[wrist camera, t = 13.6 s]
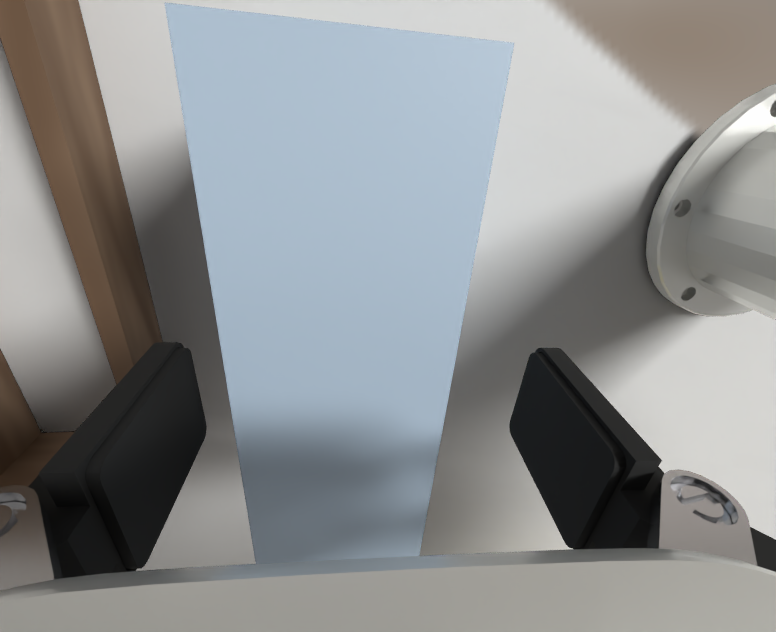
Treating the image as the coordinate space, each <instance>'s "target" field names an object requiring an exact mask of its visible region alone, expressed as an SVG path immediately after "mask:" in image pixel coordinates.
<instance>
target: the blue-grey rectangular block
mask: <svg viewBox="0 0 776 632" xmlns="http://www.w3.org/2000/svg"><path fill="white" fill-rule="evenodd" d="M165 8H166V14H167V20H168V27H169V33H170V39H171V45H172V51H173V57H174V63H175V70H176V76H177V82H178V88H179V94H180V100H181V106H182V113H183V119H184V125H185V131H186V137H187V143H188V149H189V155H190V162H191V168H192V174H193V180H194V186H195V192H196V198H197V205H198V211H199V217H200V223H201V229H202V235H203V241H204V248H205V254H206V260H207V266H208V272H209V278H210V284H211V291H212V297H213V303H214V309H215V315H216V321H217V327H218V334H219V340H220V346H221V352H222V358H223V364H224V370H225V376H226V383H227V389H228V395H229V401H230V407H231V413H232V419H233V426H234V432H235V438H236V444H237V450H238V456H239V462H240V469H241V475H242V481H243V487H244V493H245V499H246V505H247V512H248V518H249V524H250V530H251V536H252V542H253V548H254V554H255V561H256V564H266V563H285V562H304V561H324V560H345V559H366V558H387V557H408V556H419V554H420V549H421V544H422V538H423V533H424V527H425V522H426V517H427V511H428V506H429V500H430V495H431V490H432V484H433V479H434V474H435V468H436V463H437V457H438V452H439V447H440V441H441V436H442V430H443V425H444V420H445V414H446V409H447V403H448V398H449V393H450V387H451V382H452V376H453V371H454V366H455V360H456V355H457V349H458V344H459V339H460V333H461V328H462V323H463V317H464V312H465V306H466V301H467V296H468V290H469V285H470V279H471V274H472V269H473V263H474V258H475V252H476V247H477V242H478V236H479V231H480V225H481V220H482V215H483V209H484V204H485V198H486V193H487V188H488V182H489V177H490V172H491V166H492V161H493V155H494V150H495V145H496V139H497V134H498V128H499V123H500V118H501V112H502V107H503V101H504V96H505V91H506V85H507V80H508V74H509V69H510V64H511V58H512V53H513V48H514V43H511V42H502V41H494V40H485V39H476V38H468V37H459V36H450V35H442V34H433V33H424V32H416V31H407V30H398V29H390V28H381V27H372V26H364V25H355V24H346V23H338V22H329V21H320V20H312V19H303V18H294V17H286V16H277V15H268V14H260V13H251V12H242V11H234V10H225V9H216V8H208V7H199V6H190V5H182V4H173V3H165Z"/></svg>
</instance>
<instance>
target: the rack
mask: <svg viewBox="0 0 776 632" xmlns="http://www.w3.org/2000/svg"><path fill="white" fill-rule="evenodd" d="M0 38H1V41H2V44H3V47H4V50H5V53H6V56H7V59H8V62H9V65H10V68H11V71H12V74H13V77H14V80H15V83H16V86H17V89H18V92H19V95H20V98H21V101H22V104H23V107H24V110H25V113H26V116H27V119H28V122H29V125H30V128H31V131H32V134H33V137H34V140H35V143H36V146H37V149H38V152H39V155H40V158H41V161H42V164H43V167H44V170H45V173H46V176H47V179H48V182H49V185H50V188H51V191H52V194H53V196H54V199H55V202H56V205H57V208H58V211H59V214H60V217H61V220H62V223H63V226H64V229H65V232H66V235H67V238H68V241H69V244H70V247H71V250H72V253H73V256H74V259H75V262H76V265H77V268H78V271H79V274H80V277H81V280H82V283H83V286H84V289H85V292H86V295H87V298H88V301H89V304H90V307H91V310H92V313H93V316H94V319H95V322H96V325H97V328H98V331H99V334H100V337H101V340H102V343H103V346H104V349H105V352H106V355H107V358H108V361H109V364H110V366H111V369H112V372H113V375H114V378H115V381H116V384H118V383H119V382H120V381H121V380H122V379H123V377H124V376H125V375H126V374H127V373H128V372H129V371H130V370H131V368H132V367H133V366H134V365H135V364H136V363H137V362H138V361H139V359H140V358H141V357H142V356H143V355H144V354H145V353H146V352H147V350H148V349H149V348H150V347H151V346H152V345H153V344H154V343H157V342H163V341H162V337H161V333H160V329H159V325H158V321H157V317H156V313H155V309H154V305H153V301H152V297H151V293H150V289H149V285H148V281H147V277H146V273H145V269H144V265H143V261H142V257H141V253H140V248H139V244H138V240H137V236H136V232H135V228H134V224H133V220H132V216H131V212H130V208H129V204H128V200H127V196H126V192H125V188H124V184H123V180H122V176H121V172H120V168H119V164H118V160H117V155H116V151H115V147H114V143H113V139H112V135H111V131H110V127H109V123H108V119H107V115H106V111H105V107H104V103H103V99H102V95H101V91H100V87H99V83H98V79H97V75H96V71H95V67H94V62H93V58H92V54H91V50H90V46H89V42H88V38H87V34H86V30H85V26H84V22H83V18H82V14H81V10H80V6H79V2H78V0H0ZM73 434H74V432H51V433H41V431H40V429H39V427H38V425H37V423H36V421H35V419H34V417H33V415H32V413H31V411H30V409H29V407H28V405H27V403H26V401H25V399H24V396H23V394H22V392H21V390H20V388H19V386H18V384H17V382H16V380H15V378H14V376H13V374H12V372H11V370H10V368H9V366H8V364H7V362H6V360H5V358H4V356H3V354H2V351H1V349H0V487H4V486H10V485H23V486H27V487H28V486H29V485H30V484H31V483H32V482H33V481H34V479H35V478H36V477H37V476H38V475H39V472H40V471H41V470H42V468H43V467H44V466H45V465H46V464H47V463H48V462H49V461H50V459H51V458H52V457H53V456H54V455H55V454H56V453H57V452H58V450H59V449H60V448H61V447H62V446H63V445H64V444H65V443H66V441H67V440H68V439H69V438H70V437H71V436H72V435H73Z"/></svg>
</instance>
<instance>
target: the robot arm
mask: <svg viewBox="0 0 776 632" xmlns="http://www.w3.org/2000/svg"><path fill="white" fill-rule="evenodd" d="M646 257H647V265H648V271H649V273H650V276H651V278H652V281H653V283H654V285H655V286H656V288H657V289H658V290H659V291H660V293H661V294H662V295H663V296H664V297H665V298H667V299H668V300H669V301H671V302H672V303H674V304H675V305H677V306H679V307H681V308H683V309H685V310H687V311H689V312H691V313H694V314H699V315H703V316H721V317H724V316H730V315H736V314H742V313H745V312H748V311H751V310H755V311H757V312H759V313H761V314H763V315H766V316H768V317H770V318H772V319H774V320H776V84H773V85H771V86H768V87H766V88H764V89H762V90H760V91H759V92H757V93H755V94H753V95H751V96H749V97H748V98H746V99H744V100H742V101H741V102H739V103H738V104H737V105H736V106H734V107H733V108H731V110H729V111H727V112H726V113H725V114H724V115H722V116H721V117H720V118H718V119H717V120H716V121H715V122H714V123H713V124H712V125H711V126H710V127H709V128H708V129H707V130H706V131H705V132H704V133H703V134H702V135H701V136H700V137H699V138H698V139H697V140H696V141H695V142H694V143H693V145H692V146H691V147H690V148H689V150H688V151H687V152H686V153H685V155H684V156H683V157H682V158H681V160H680V161H679V162H678V164H677V165H676V167H675V169H674V170H673V172H672V174H671V175H670V177H669V178H668V180H667V182H666V183H665V185H664V187H663V189H662V191H661V194H660V196H659V198H658V201H657V203H656V205H655V207H654V210H653V213H652V217H651V221H650V225H649V228H648V233H647V245H646ZM510 433H511V436H512V438H513V440H514V442H515V444H516V446H517V448H518V450H519V452H520V454H521V456H522V458H523V460H524V462H525V464H526V466H527V468H528V470H529V472H530V474H531V476H532V478H533V480H534V482H535V484H536V486H537V488H538V490H539V492H540V494H541V496H542V498H543V500H544V502H545V504H546V506H547V508H548V510H549V512H550V514H551V516H552V518H553V520H554V522H555V524H556V526H557V528H558V530H559V532H560V534H561V536H562V538H563V540H564V542H565V543H566V545H567V546H568V547H570V548H573V549H574V550H548V551H524V552H500V553H475V554H452V555H430V556H408V557H387V558H366V559H345V560H324V561H304V562H285V563H266V564H247V565H228V566H209V567H190V568H176V569H161V570H147V571H136V569H137V568H142V567H143V566H144V565H145V564H146V562H147V561H148V559H149V557H150V555H151V552H152V550H153V548H154V546H155V544H156V542H157V540H158V537H159V535H160V533H161V531H162V529H163V527H164V524H165V522H166V520H167V518H168V516H169V514H170V512H171V509H172V507H173V505H174V503H175V501H176V499H177V497H178V494H179V492H180V490H181V488H182V486H183V484H184V482H185V479H186V477H187V475H188V473H189V471H190V469H191V467H192V464H193V462H194V460H195V458H196V456H197V454H198V452H199V449H200V447H201V445H202V443H203V441H204V438H205V435H206V421H205V416H204V412H203V407H202V402H201V398H200V393H199V388H198V383H197V379H196V374H195V369H194V365H193V360H192V355H191V352H190V350H189V349H188V348H184V347H183V345H182V344H181V343H166V342H157V343H154V344H153V345H152V346H151V347H150V348H149V349H148V350H147V352H146V353H145V354H144V355H143V356H142V357H141V358H140V359H139V361H138V362H137V363H136V364H135V365H134V366H133V367H132V368H131V370H130V371H129V372H128V373H127V374H126V375H125V376H124V377H123V379H122V380H121V381H120V382H119V383H118V384H117V385H116V386H115V388H114V389H113V390H112V391H111V392H110V393H109V394H108V395H107V397H106V398H105V399H104V400H103V401H102V402H101V403H100V404H99V406H98V407H97V408H96V409H95V410H94V411H93V412H92V413H91V414H90V416H89V417H88V418H87V419H86V420H85V421H84V422H83V423H82V425H81V426H80V427H79V428H78V429H77V430H76V431H75V432H74V434H73V435H72V436H71V437H70V438H69V439H68V440H67V441H66V443H65V444H64V445H63V446H62V447H61V448H60V449H59V450H58V452H57V453H56V454H55V455H54V456H53V457H52V458H51V459H50V461H49V462H48V463H47V464H46V465H45V466H44V467H43V468H42V470H41V471H40V472H39V475H38V476H37V477H36V478H35V479H34V481H33V482H32V483H31V484H30V485H29V486H28V487H27V486H23V485H10V486H4V487H0V632H776V540H775V539H773V538H771V537H769V536H767V535H765V534H763V533H761V532H759V531H757V530H755V529H753V528H751V527H750V525H749V520H748V517H747V515H746V512H745V510H744V509H743V508H742V506H741V505H740V504H739V502H738V501H737V500H736V499H735V498H734V497H733V496H732V495H731V494H730V493H728V492H727V491H726V490H725V489H723V488H722V487H720V486H719V485H718V484H716V483H715V482H713V481H711V480H709V479H707V478H705V477H703V476H701V475H698V474H696V473H693V472H690V471H684V470H670V471H668V472H666V473H665V474H664V472H663V471H662V470H661V469H660V468H659V467H658V466H659V464H660V463H661V461H662V460H661V459H660V458H659V457H658V456H657V455H656V453H655V452H654V451H653V450H652V449H651V448H650V447H649V446H648V445H647V443H646V442H645V441H644V440H643V439H642V438H641V437H640V436H639V435H638V434H637V432H636V431H635V430H634V429H633V428H632V427H631V426H630V425H629V424H628V422H627V421H626V420H625V419H624V418H623V417H622V416H621V415H620V414H619V413H618V411H617V410H616V409H615V408H614V407H613V406H612V405H611V404H610V403H609V401H608V400H607V399H606V398H605V397H604V396H603V395H602V394H601V393H600V392H599V390H598V389H597V388H596V387H595V386H594V385H593V384H592V383H591V382H590V380H589V379H588V378H587V377H586V376H585V375H584V374H583V373H582V372H581V371H580V369H579V368H578V367H577V366H576V365H575V364H574V363H573V362H572V361H571V360H570V358H569V357H568V356H567V355H566V354H565V353H564V352H563V351H562V350H561V349H559V348H539V349H537V350H536V352H535V353H532V354H531V355H530V357H529V360H528V363H527V366H526V370H525V373H524V376H523V380H522V383H521V387H520V390H519V393H518V397H517V400H516V403H515V407H514V410H513V413H512V417H511V420H510Z"/></svg>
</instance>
